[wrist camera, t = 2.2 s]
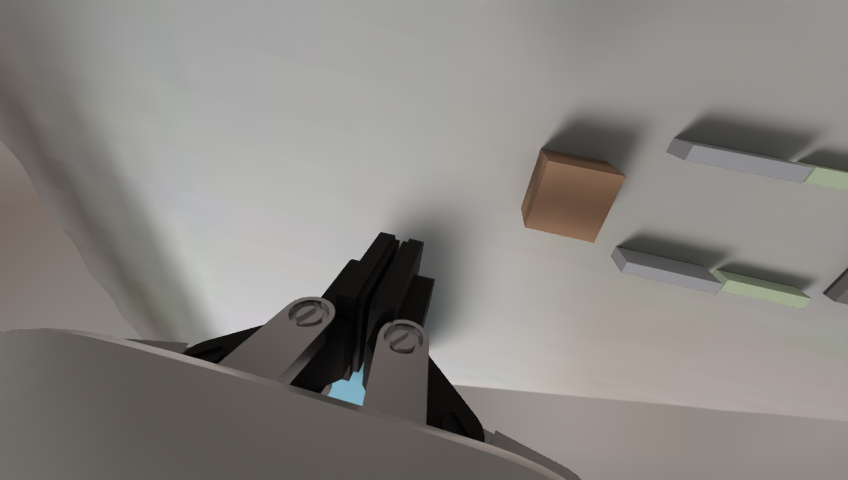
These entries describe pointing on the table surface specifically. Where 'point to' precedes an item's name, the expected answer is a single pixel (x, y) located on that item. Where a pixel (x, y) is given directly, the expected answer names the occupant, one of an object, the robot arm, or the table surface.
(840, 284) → the tray
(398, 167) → the table surface
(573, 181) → the walnut block
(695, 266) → the walled lane
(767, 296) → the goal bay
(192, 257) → the table surface
